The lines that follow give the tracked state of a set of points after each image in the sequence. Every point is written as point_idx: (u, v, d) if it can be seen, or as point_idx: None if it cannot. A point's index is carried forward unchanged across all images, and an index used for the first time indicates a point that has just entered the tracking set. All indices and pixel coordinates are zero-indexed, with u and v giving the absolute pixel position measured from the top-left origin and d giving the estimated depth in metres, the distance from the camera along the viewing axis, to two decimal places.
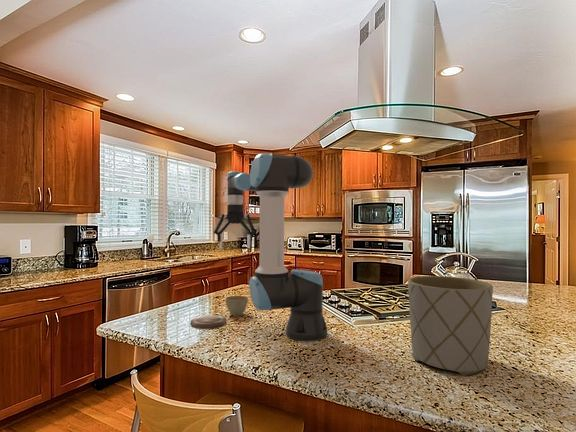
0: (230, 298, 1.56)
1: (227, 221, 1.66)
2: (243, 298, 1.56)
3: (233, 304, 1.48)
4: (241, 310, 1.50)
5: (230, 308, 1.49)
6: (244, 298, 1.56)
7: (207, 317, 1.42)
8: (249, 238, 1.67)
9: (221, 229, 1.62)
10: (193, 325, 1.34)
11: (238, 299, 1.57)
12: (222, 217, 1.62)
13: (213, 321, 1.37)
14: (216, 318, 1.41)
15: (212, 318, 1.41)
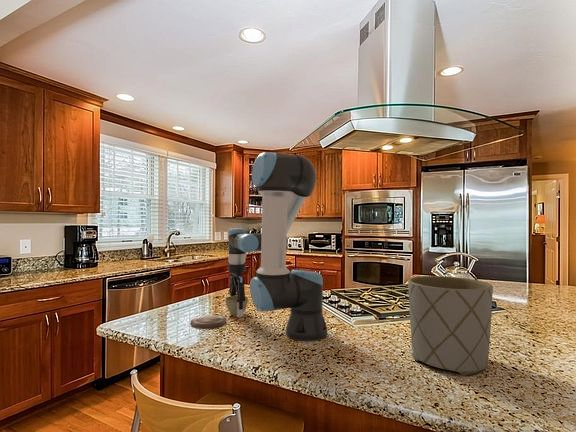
0: (230, 298, 1.56)
1: None
2: None
3: (233, 304, 1.48)
4: None
5: (230, 308, 1.49)
6: None
7: (207, 317, 1.42)
8: (237, 305, 1.47)
9: (231, 290, 1.57)
10: (193, 325, 1.34)
11: None
12: (230, 276, 1.58)
13: (213, 321, 1.37)
14: (216, 318, 1.41)
15: (212, 318, 1.41)
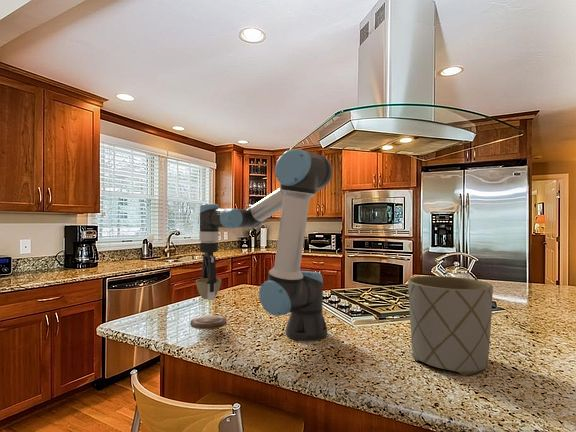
0: (202, 280, 1.43)
1: None
2: None
3: (203, 286, 1.35)
4: None
5: (200, 291, 1.36)
6: (217, 280, 1.43)
7: (207, 317, 1.42)
8: None
9: (203, 272, 1.44)
10: (193, 325, 1.34)
11: None
12: None
13: (213, 321, 1.37)
14: (216, 318, 1.41)
15: (212, 318, 1.41)
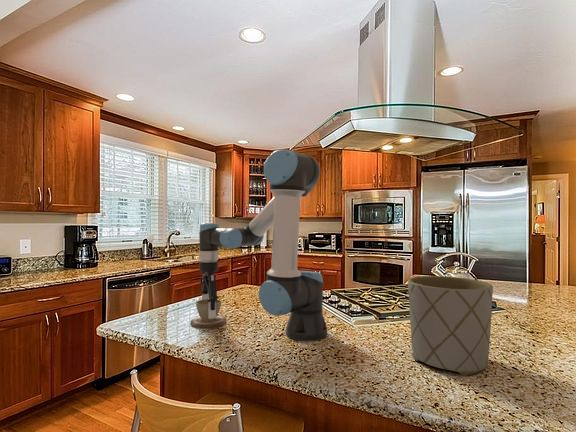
0: (202, 302, 1.43)
1: None
2: (216, 302, 1.43)
3: (204, 308, 1.35)
4: None
5: (200, 313, 1.36)
6: (217, 302, 1.43)
7: None
8: (208, 306, 1.33)
9: (202, 287, 1.45)
10: (193, 325, 1.34)
11: None
12: None
13: (213, 321, 1.37)
14: (216, 318, 1.41)
15: None
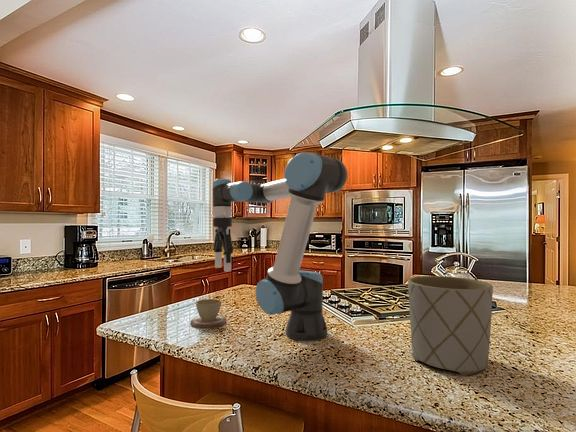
0: (202, 302, 1.43)
1: None
2: (216, 302, 1.43)
3: (204, 308, 1.35)
4: (213, 315, 1.36)
5: (200, 313, 1.36)
6: (217, 302, 1.43)
7: None
8: (224, 259, 1.34)
9: (215, 246, 1.47)
10: (193, 325, 1.34)
11: (211, 303, 1.44)
12: (215, 232, 1.46)
13: (213, 321, 1.37)
14: (216, 318, 1.41)
15: None
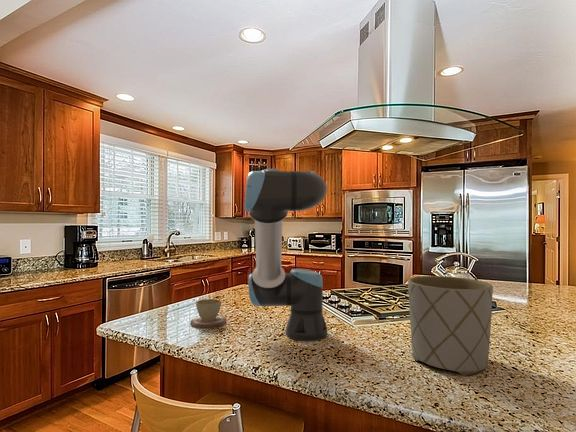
0: (202, 302, 1.43)
1: None
2: (216, 302, 1.43)
3: (204, 308, 1.35)
4: (213, 315, 1.36)
5: (200, 313, 1.36)
6: (217, 302, 1.43)
7: None
8: None
9: None
10: (193, 325, 1.34)
11: (211, 303, 1.44)
12: None
13: (213, 321, 1.37)
14: (216, 318, 1.41)
15: None
